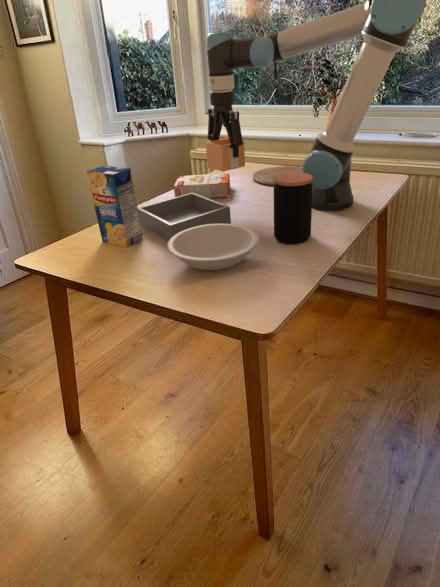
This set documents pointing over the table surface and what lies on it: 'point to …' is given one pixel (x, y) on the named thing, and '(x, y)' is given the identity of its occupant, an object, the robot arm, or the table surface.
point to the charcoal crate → (182, 214)
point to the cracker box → (203, 185)
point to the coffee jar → (292, 207)
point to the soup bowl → (213, 245)
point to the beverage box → (115, 205)
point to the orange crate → (222, 155)
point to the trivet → (272, 174)
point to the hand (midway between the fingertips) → (225, 164)
